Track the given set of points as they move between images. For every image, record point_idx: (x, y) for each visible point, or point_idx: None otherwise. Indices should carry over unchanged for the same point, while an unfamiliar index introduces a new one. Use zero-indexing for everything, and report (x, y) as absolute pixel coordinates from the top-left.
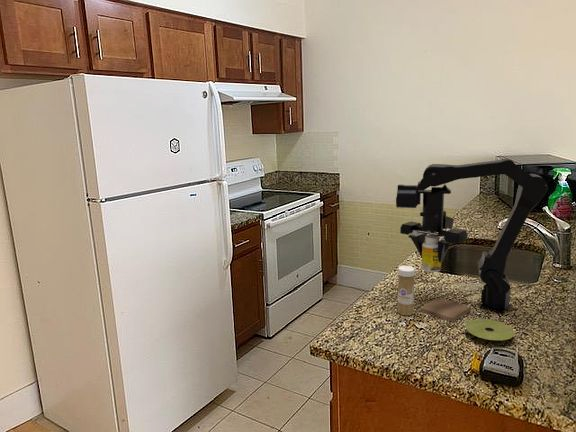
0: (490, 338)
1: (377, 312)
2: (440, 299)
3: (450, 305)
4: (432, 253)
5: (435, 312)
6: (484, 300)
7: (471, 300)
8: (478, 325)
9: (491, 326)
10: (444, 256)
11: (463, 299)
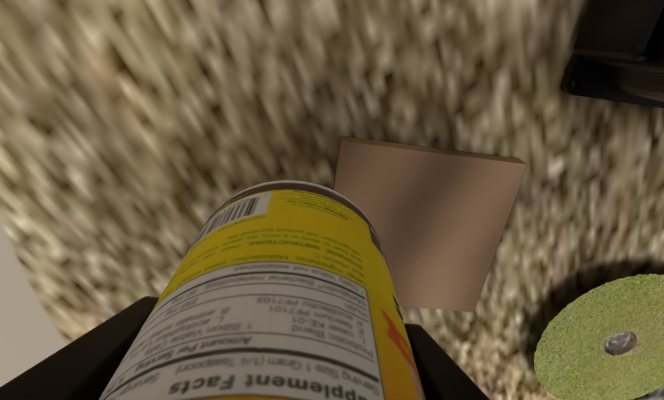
0: (622, 393)
1: None
2: (362, 161)
3: (431, 203)
4: None
5: None
6: (606, 66)
7: (506, 14)
8: (581, 340)
9: (629, 322)
10: (463, 373)
11: (460, 28)
